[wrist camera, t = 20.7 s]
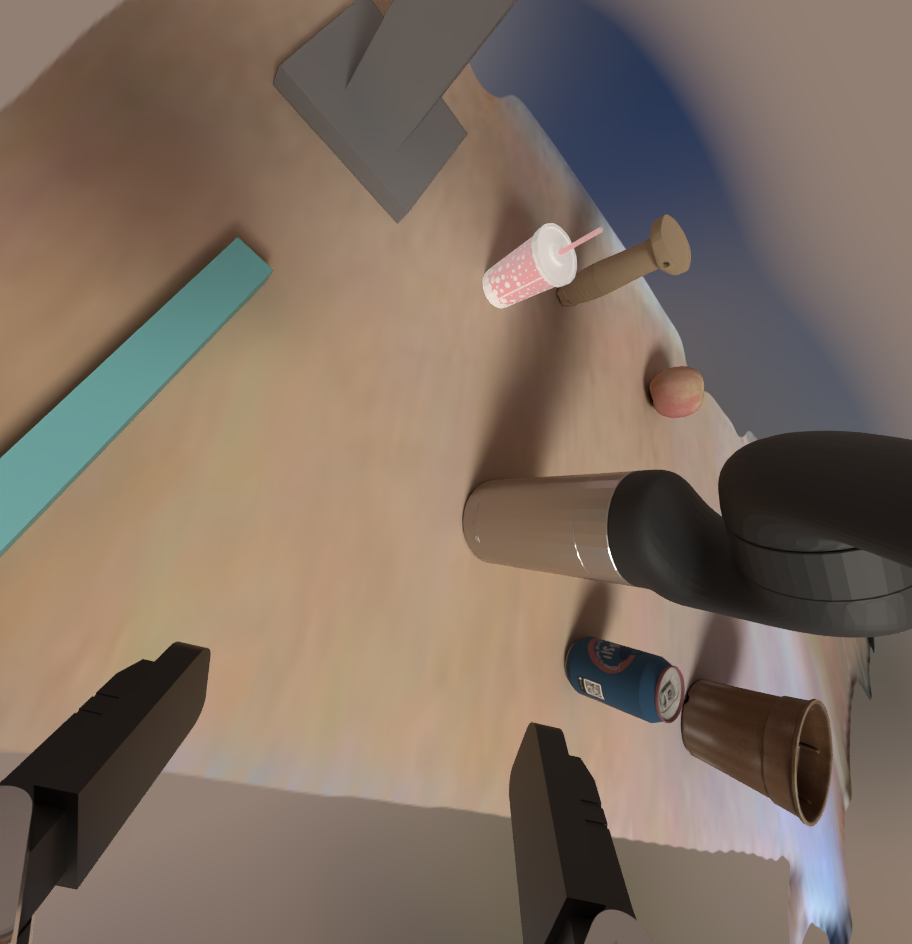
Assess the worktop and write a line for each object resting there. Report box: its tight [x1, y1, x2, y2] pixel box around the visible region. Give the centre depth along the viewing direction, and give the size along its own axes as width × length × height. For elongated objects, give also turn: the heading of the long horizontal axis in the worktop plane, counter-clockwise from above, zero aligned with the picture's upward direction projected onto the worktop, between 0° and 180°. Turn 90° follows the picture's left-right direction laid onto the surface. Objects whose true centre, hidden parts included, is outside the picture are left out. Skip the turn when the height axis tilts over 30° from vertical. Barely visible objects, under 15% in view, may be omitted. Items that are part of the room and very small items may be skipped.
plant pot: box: [681, 680, 833, 826], centre depth 68 cm, size 16×16×16 cm
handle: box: [557, 214, 691, 306], centre depth 53 cm, size 5×6×15 cm
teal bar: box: [0, 237, 273, 557], centre depth 28 cm, size 26×3×3 cm, turn 145°
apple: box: [649, 366, 704, 418], centre depth 68 cm, size 8×8×8 cm
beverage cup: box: [483, 223, 603, 308], centre depth 46 cm, size 6×6×14 cm
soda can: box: [565, 637, 685, 723], centre depth 52 cm, size 7×7×12 cm
